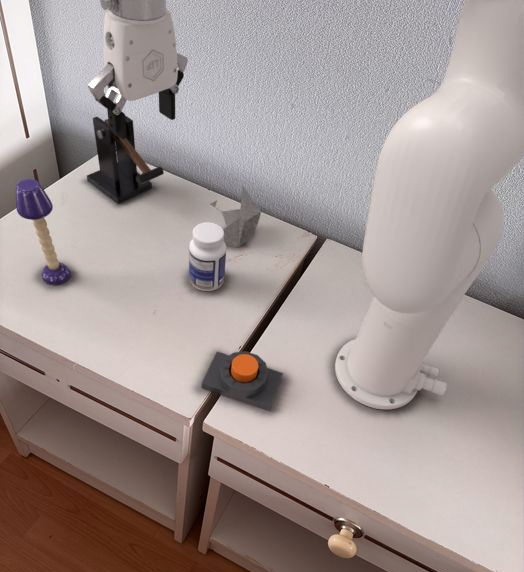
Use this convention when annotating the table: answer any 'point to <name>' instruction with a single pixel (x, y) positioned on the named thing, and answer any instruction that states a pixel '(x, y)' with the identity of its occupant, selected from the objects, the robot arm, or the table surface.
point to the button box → (252, 392)
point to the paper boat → (240, 221)
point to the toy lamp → (40, 227)
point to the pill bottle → (207, 257)
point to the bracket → (115, 164)
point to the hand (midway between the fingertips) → (143, 125)
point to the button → (244, 368)
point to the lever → (139, 162)
